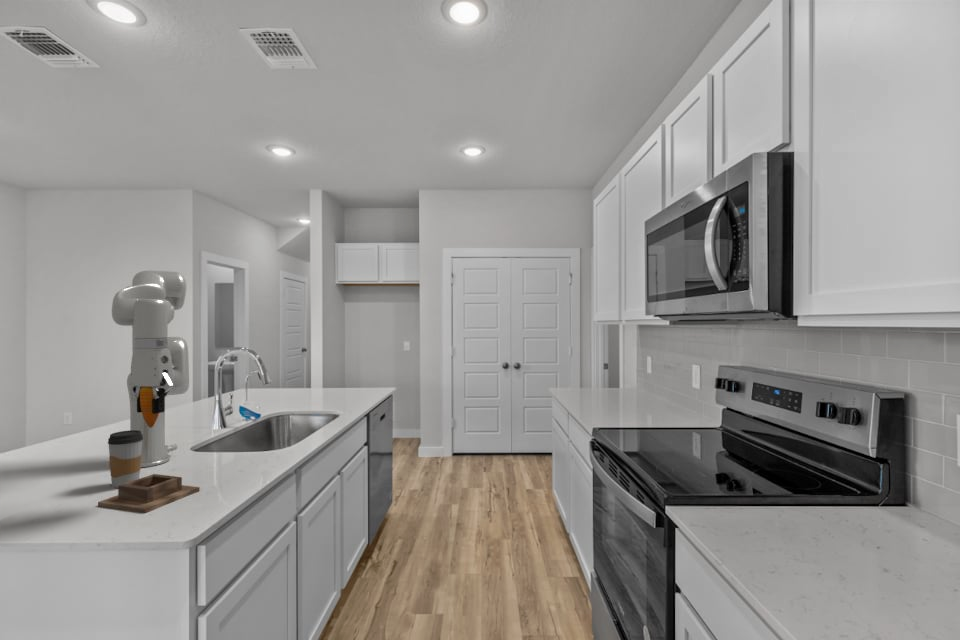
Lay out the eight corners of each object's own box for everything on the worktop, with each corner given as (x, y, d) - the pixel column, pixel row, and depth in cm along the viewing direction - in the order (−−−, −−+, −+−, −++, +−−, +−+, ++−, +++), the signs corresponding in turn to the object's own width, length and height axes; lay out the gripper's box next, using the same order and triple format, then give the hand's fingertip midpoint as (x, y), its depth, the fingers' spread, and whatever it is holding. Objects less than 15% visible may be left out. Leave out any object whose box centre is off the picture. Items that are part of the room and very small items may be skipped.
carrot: (146, 425, 130) (146, 371, 130) (165, 425, 131) (165, 371, 131) (135, 430, 125) (135, 373, 125) (155, 429, 126) (154, 373, 126)
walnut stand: (155, 485, 138) (155, 469, 138) (199, 490, 133) (199, 474, 133) (97, 506, 122) (97, 488, 122) (145, 513, 118) (145, 495, 118)
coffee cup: (150, 481, 141) (150, 431, 141) (120, 491, 133) (120, 437, 133) (130, 478, 144) (130, 428, 144) (100, 487, 136) (100, 435, 136)
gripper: (187, 344, 129) (187, 411, 129) (140, 343, 134) (140, 408, 134) (162, 346, 122) (162, 416, 122) (113, 344, 127) (113, 413, 127)
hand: (150, 411), depth 128 cm, fingers closed on carrot, 4 cm apart
